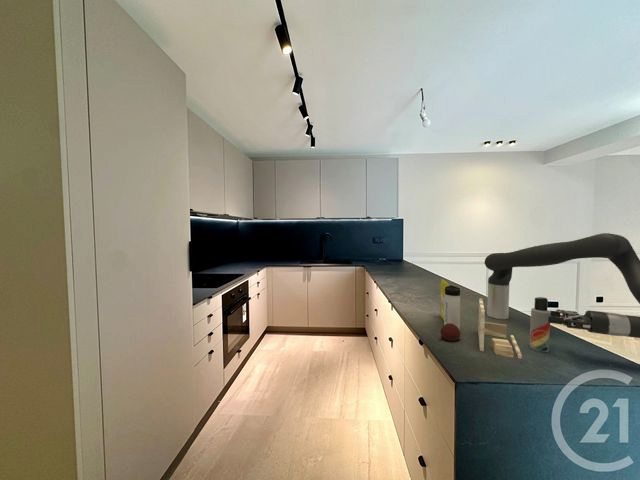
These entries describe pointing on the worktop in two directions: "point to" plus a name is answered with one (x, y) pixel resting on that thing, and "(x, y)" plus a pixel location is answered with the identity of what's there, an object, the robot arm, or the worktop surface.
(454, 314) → the travel mug
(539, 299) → the lotion bottle
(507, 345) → the offcut
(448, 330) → the potato
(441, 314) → the food package
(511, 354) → the offcut
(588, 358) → the worktop surface
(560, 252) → the robot arm
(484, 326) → the rack
